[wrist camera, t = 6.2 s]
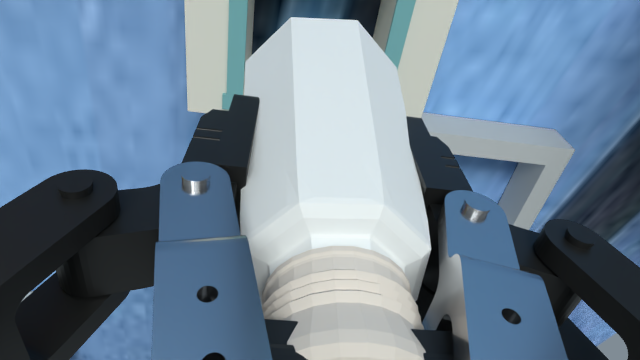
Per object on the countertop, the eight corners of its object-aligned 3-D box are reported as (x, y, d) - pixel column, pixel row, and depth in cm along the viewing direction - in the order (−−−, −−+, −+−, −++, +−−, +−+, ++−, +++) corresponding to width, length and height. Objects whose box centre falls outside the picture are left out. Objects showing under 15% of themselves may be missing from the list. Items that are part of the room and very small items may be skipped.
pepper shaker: (428, 54, 14) (647, 358, 5) (352, 176, 17) (407, 513, 8) (277, -21, 13) (213, 219, 4) (220, 126, 15) (104, 469, 6)
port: (450, -57, 21) (478, -45, 17) (402, 109, 26) (416, 144, 22) (199, -101, 19) (177, -97, 16) (201, 84, 25) (185, 116, 21)
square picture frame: (554, 129, 27) (575, 149, 25) (499, 233, 32) (512, 258, 30) (418, 111, 26) (427, 131, 24) (383, 222, 31) (389, 246, 29)
